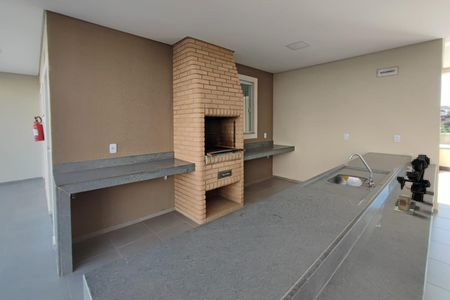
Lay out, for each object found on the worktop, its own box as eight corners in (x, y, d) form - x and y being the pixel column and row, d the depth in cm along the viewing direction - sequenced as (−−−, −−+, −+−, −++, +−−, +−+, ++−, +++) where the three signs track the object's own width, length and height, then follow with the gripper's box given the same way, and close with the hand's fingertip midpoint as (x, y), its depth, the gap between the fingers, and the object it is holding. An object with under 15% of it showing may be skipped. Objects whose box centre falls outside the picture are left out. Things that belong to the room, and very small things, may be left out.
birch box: (401, 207, 156) (402, 194, 155) (409, 210, 152) (410, 196, 151) (397, 209, 154) (398, 195, 153) (406, 211, 149) (407, 197, 148)
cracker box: (422, 192, 195) (424, 168, 193) (414, 191, 196) (416, 168, 194) (412, 187, 209) (413, 166, 207) (405, 187, 210) (406, 166, 208)
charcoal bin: (397, 202, 169) (397, 199, 169) (415, 206, 162) (416, 202, 161) (395, 206, 161) (395, 202, 161) (414, 210, 154) (414, 206, 154)
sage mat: (395, 207, 160) (395, 206, 160) (413, 210, 153) (413, 209, 153) (393, 211, 153) (393, 209, 153) (412, 214, 146) (412, 213, 146)
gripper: (397, 165, 167) (389, 182, 162) (429, 168, 150) (421, 187, 146) (402, 174, 171) (395, 190, 167) (433, 178, 155) (426, 196, 150)
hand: (408, 191), depth 157 cm, fingers open, 9 cm apart
